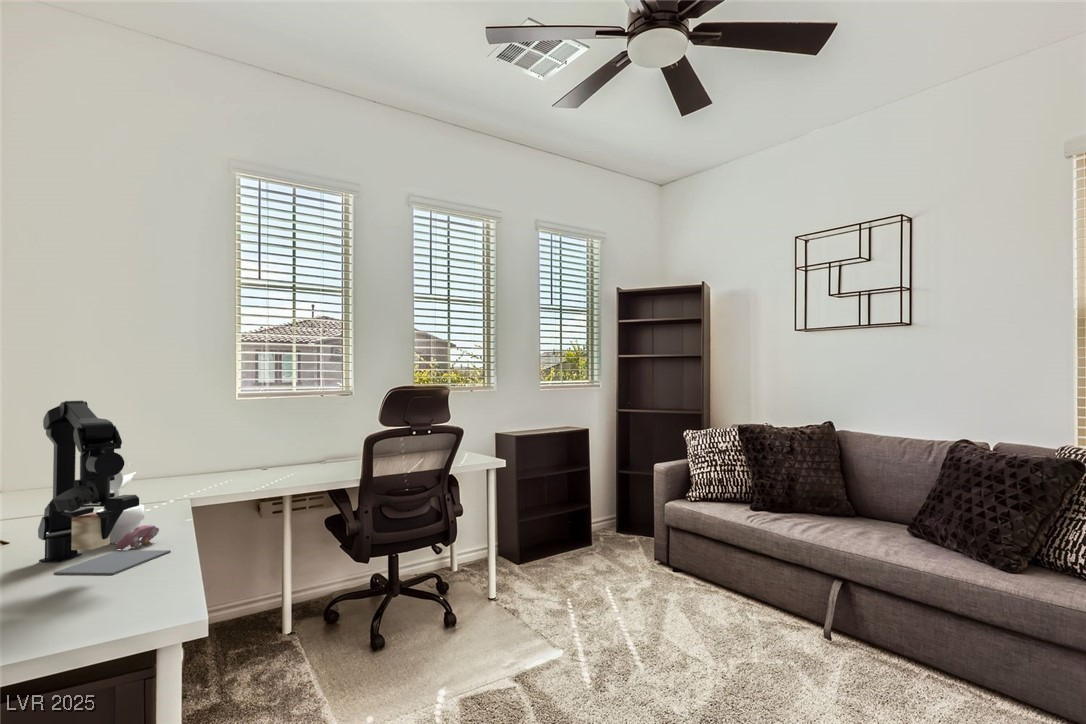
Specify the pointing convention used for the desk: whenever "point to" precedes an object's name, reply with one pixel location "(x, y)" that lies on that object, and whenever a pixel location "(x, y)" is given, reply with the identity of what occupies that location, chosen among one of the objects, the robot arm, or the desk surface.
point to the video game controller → (138, 536)
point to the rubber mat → (113, 562)
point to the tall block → (87, 532)
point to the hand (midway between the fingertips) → (94, 539)
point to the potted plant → (128, 517)
